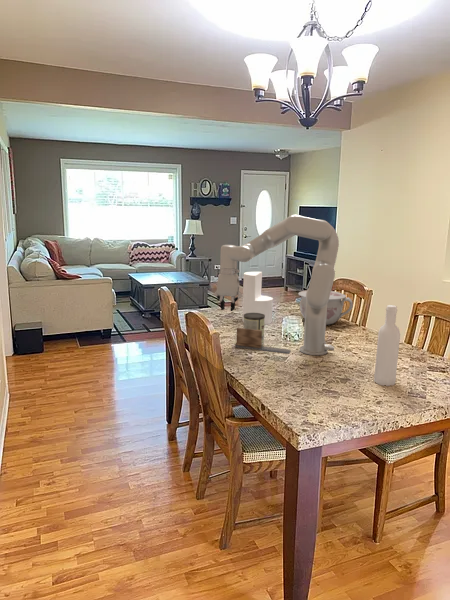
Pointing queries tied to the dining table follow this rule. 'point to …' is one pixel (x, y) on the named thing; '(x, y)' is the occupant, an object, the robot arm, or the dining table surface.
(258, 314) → the coffee can
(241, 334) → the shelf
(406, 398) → the dining table surface
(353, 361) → the dining table surface
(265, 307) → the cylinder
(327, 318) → the chamber pot
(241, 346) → the grey flat strip
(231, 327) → the dining table surface
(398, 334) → the bottle
